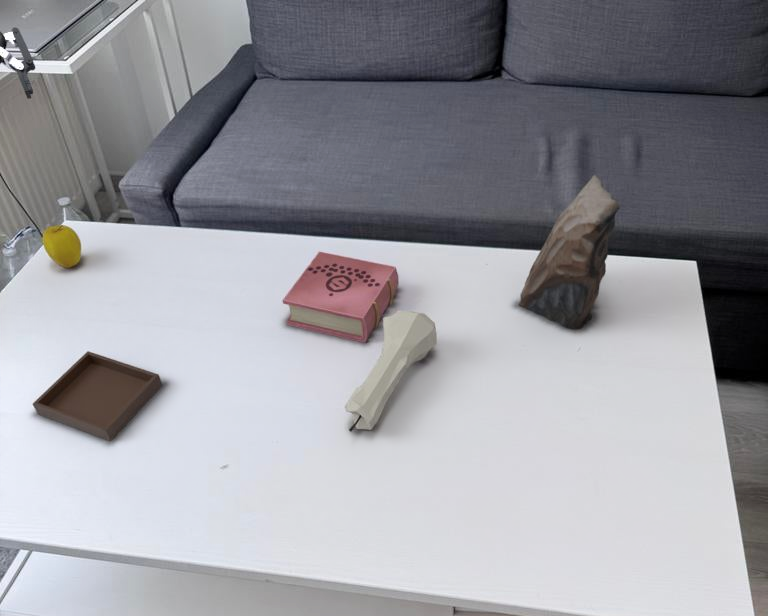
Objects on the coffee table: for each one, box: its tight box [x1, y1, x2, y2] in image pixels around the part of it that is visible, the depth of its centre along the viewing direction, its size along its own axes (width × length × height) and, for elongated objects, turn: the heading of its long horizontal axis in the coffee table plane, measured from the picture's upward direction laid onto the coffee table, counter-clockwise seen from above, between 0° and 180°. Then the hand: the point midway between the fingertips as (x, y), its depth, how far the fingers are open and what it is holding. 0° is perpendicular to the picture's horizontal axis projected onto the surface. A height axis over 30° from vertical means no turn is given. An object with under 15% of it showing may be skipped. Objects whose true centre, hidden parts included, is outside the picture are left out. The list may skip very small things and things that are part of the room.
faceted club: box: [344, 310, 438, 432], centre depth 113 cm, size 9×8×25 cm
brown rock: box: [518, 174, 621, 330], centre depth 118 cm, size 13×13×20 cm
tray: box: [32, 350, 163, 442], centre depth 116 cm, size 14×13×2 cm
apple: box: [42, 224, 82, 269], centre depth 137 cm, size 6×6×8 cm
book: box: [282, 251, 399, 344], centre depth 126 cm, size 14×15×5 cm
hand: (3, 102), depth 127 cm, fingers open, 8 cm apart
